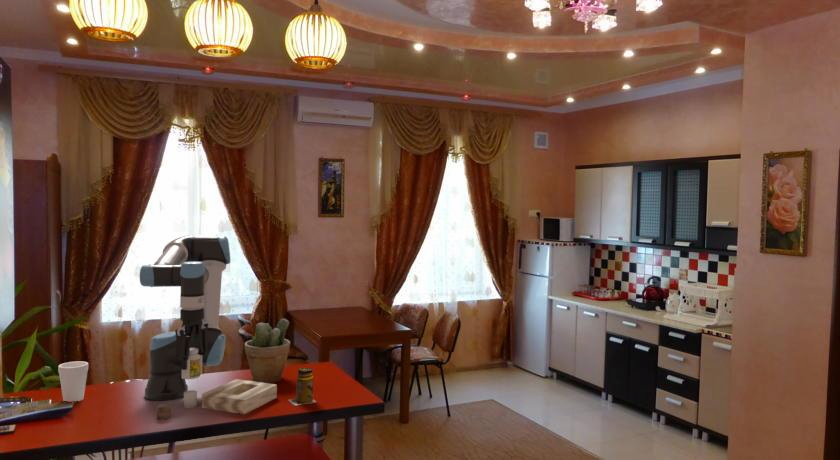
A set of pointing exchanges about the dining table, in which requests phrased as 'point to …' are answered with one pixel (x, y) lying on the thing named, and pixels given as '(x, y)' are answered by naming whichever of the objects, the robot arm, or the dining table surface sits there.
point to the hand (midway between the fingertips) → (192, 376)
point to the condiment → (304, 387)
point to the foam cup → (73, 380)
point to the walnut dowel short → (163, 411)
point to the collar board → (239, 396)
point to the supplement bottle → (194, 363)
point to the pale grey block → (190, 399)
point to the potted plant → (268, 352)
